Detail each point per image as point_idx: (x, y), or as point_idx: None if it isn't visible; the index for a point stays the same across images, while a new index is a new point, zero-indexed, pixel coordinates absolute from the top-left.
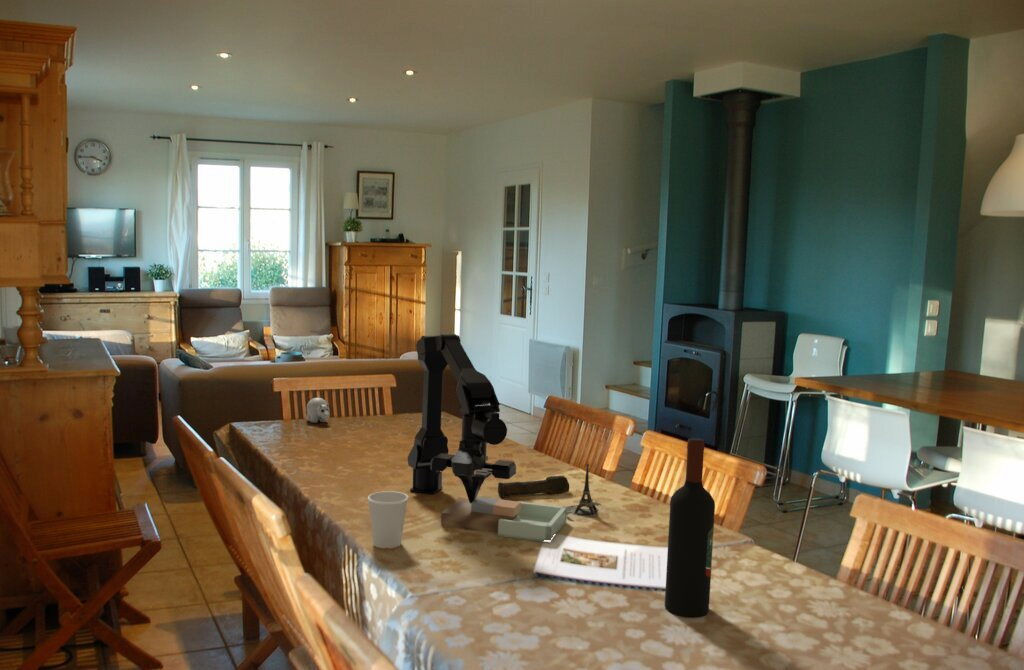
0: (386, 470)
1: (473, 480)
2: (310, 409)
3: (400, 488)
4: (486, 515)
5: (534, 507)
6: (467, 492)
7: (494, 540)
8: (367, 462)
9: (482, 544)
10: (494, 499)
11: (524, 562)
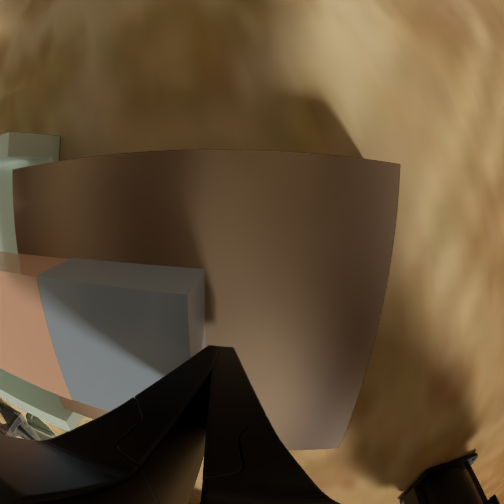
0: (485, 490)
1: (74, 475)
2: None
3: (488, 453)
4: (87, 219)
5: (22, 392)
6: (242, 394)
7: (64, 81)
8: (499, 490)
9: (100, 19)
10: (90, 396)
11: (5, 3)
